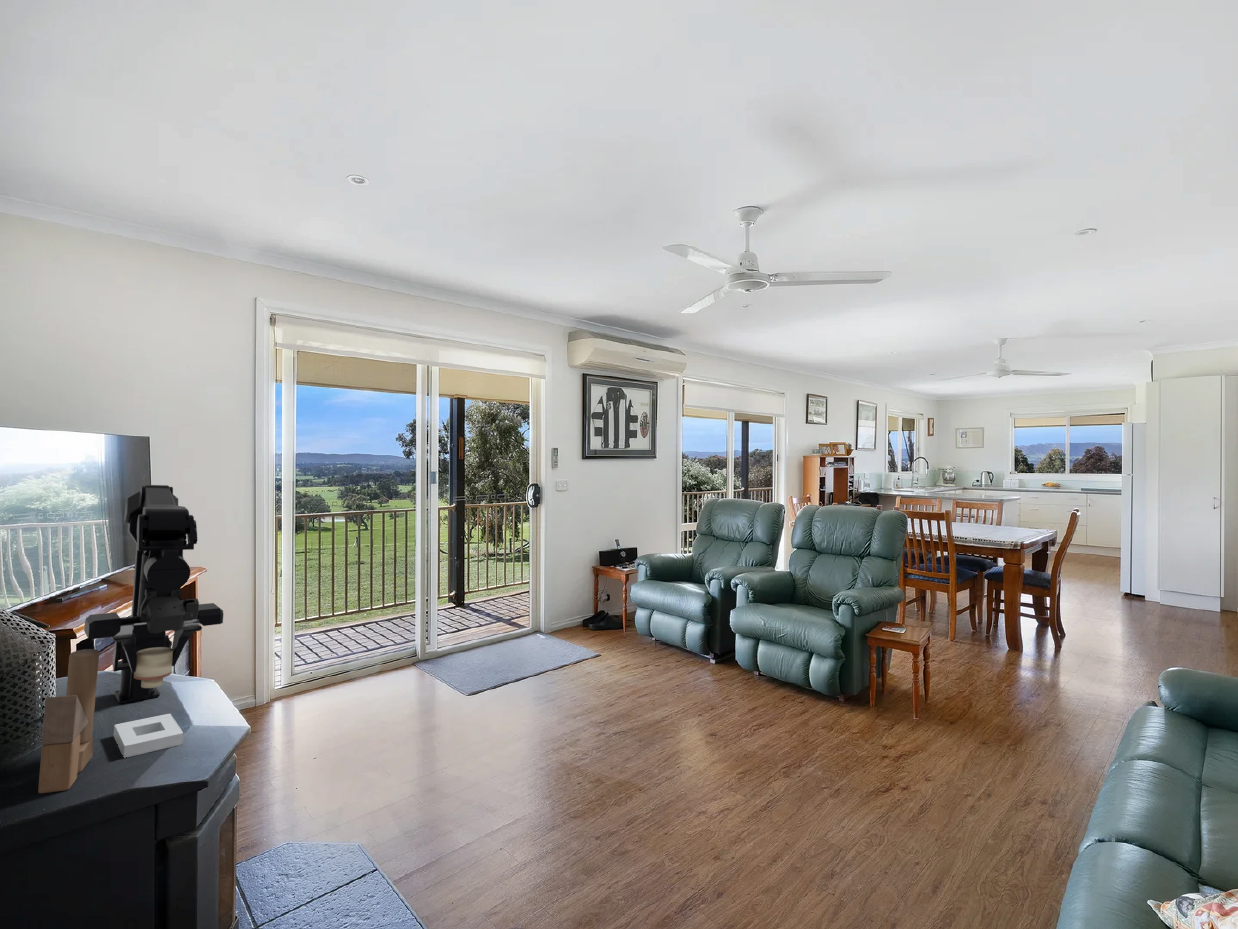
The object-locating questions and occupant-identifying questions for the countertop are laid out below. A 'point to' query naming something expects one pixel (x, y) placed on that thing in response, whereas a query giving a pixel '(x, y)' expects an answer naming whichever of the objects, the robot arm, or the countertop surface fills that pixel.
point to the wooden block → (69, 725)
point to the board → (147, 735)
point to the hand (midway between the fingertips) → (153, 668)
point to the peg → (153, 666)
